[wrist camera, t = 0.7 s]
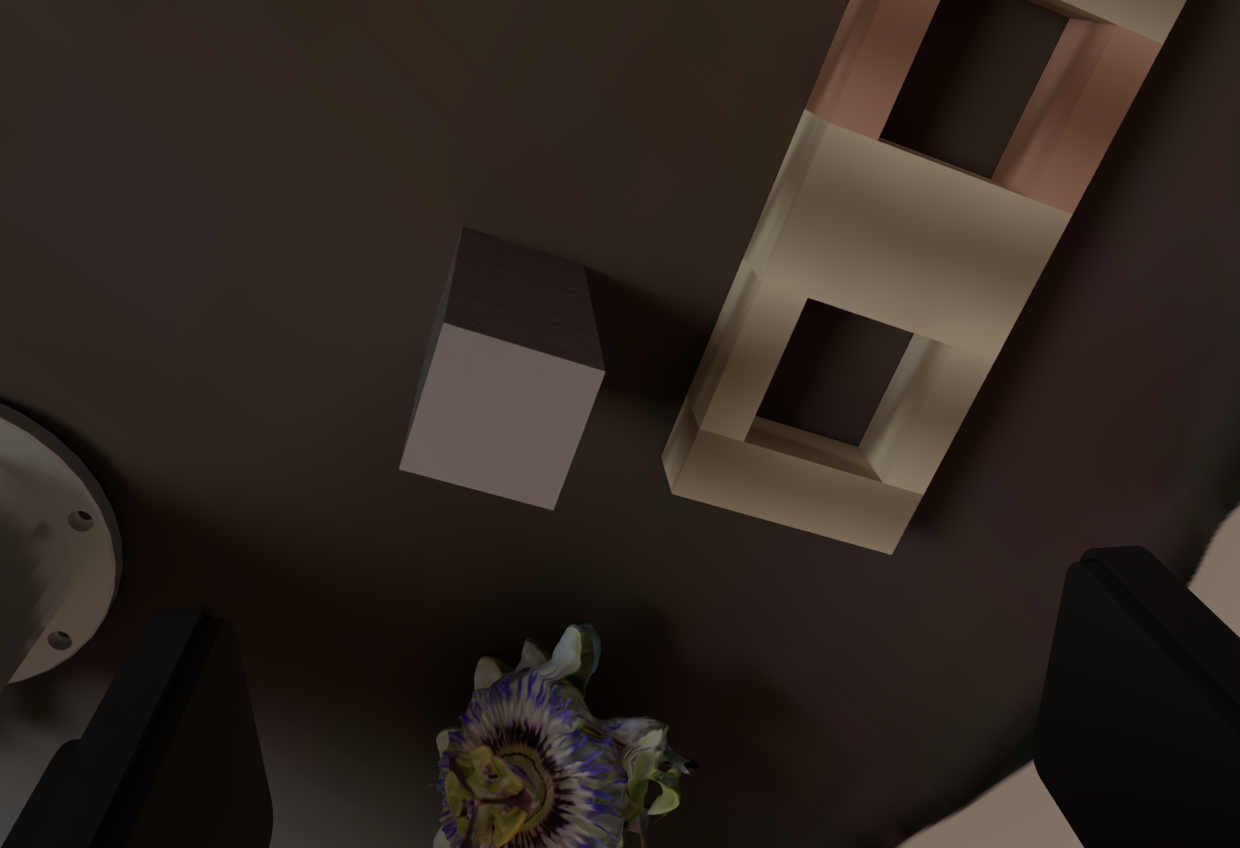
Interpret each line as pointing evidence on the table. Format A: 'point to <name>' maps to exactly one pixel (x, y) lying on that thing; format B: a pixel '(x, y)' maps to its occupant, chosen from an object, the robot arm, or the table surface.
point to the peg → (506, 373)
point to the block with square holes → (898, 266)
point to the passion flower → (550, 758)
